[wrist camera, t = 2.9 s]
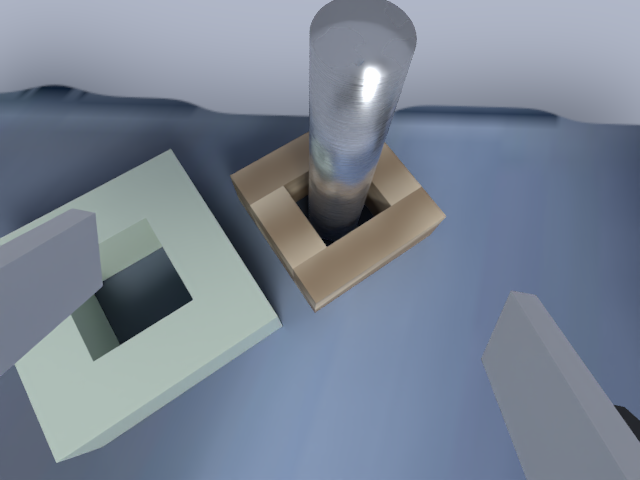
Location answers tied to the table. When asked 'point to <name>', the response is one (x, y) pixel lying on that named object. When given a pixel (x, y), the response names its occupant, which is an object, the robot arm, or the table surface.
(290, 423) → the table surface
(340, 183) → the cylinder
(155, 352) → the sage rack
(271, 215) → the maple sleeve
